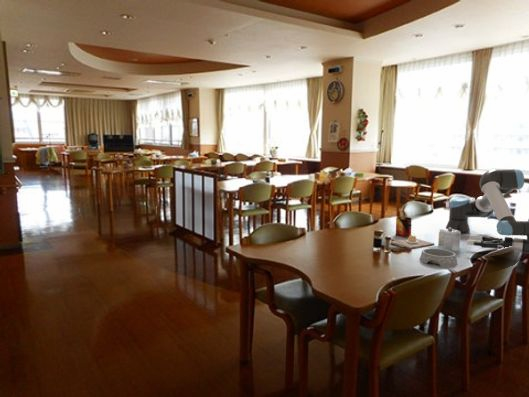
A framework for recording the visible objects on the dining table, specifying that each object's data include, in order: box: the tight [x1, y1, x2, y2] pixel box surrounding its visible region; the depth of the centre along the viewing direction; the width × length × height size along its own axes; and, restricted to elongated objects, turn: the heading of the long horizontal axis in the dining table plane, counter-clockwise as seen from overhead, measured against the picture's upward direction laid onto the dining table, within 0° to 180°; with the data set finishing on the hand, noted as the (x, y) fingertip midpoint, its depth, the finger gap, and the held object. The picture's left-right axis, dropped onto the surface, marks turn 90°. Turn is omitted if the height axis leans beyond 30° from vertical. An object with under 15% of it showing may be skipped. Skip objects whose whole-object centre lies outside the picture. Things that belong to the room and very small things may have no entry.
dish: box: [406, 234, 418, 244], centre depth 234 cm, size 7×7×5 cm
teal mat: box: [427, 245, 471, 254], centre depth 223 cm, size 16×16×1 cm
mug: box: [395, 216, 413, 238], centre depth 256 cm, size 10×14×12 cm
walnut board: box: [391, 238, 435, 250], centre depth 235 cm, size 20×16×2 cm
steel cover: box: [437, 228, 462, 252], centre depth 222 cm, size 11×11×13 cm
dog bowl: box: [419, 248, 458, 268], centre depth 202 cm, size 17×18×5 cm
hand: (468, 239), depth 217 cm, fingers open, 13 cm apart
